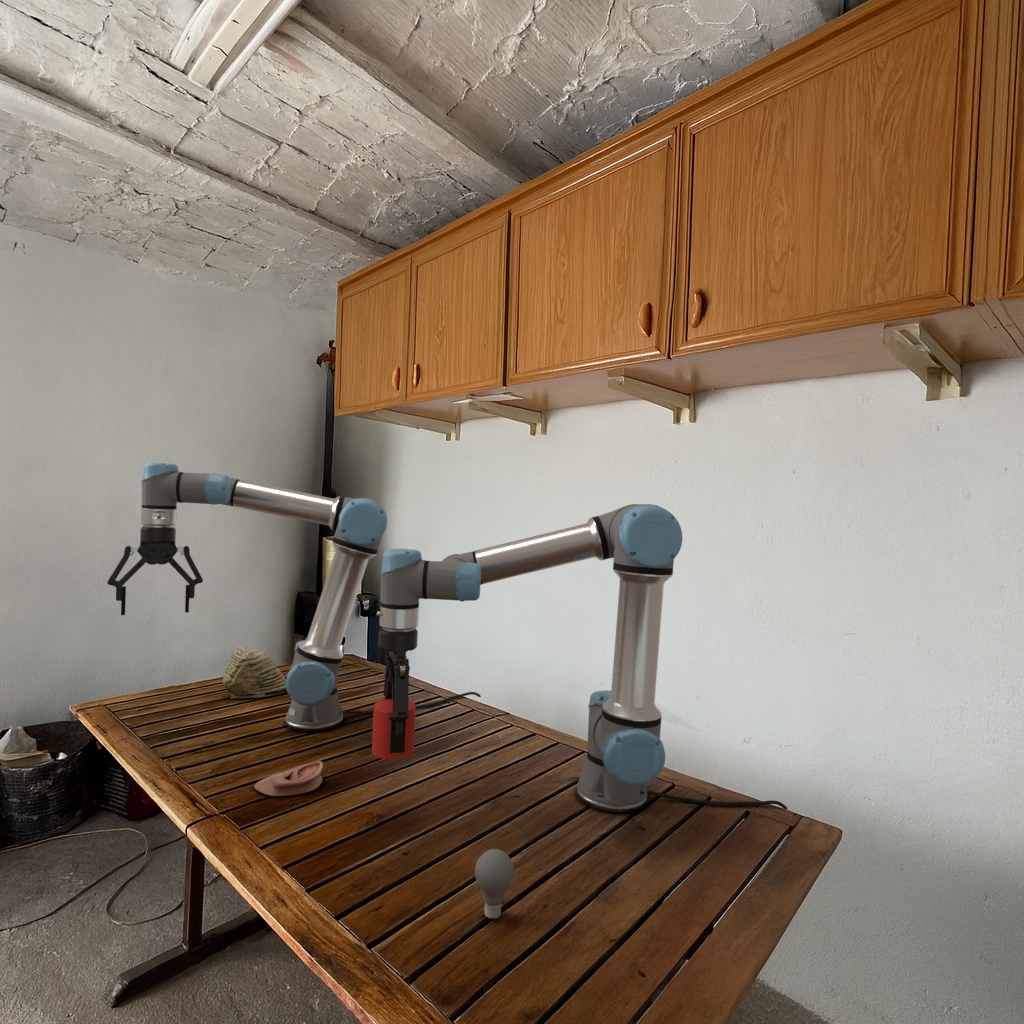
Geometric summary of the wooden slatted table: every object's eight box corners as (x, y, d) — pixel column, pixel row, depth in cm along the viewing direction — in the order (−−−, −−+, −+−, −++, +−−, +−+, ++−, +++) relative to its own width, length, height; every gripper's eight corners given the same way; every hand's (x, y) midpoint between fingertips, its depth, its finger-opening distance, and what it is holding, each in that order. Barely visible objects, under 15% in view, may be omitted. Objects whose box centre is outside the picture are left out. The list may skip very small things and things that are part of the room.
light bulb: (472, 903, 100) (475, 841, 100) (510, 903, 101) (513, 841, 101) (473, 929, 94) (476, 863, 94) (513, 928, 95) (516, 862, 95)
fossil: (218, 695, 195) (220, 647, 195) (278, 685, 208) (279, 640, 207) (228, 703, 189) (230, 653, 188) (289, 692, 201) (290, 645, 201)
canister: (362, 753, 123) (364, 706, 123) (390, 740, 130) (392, 696, 130) (395, 763, 119) (397, 715, 119) (422, 749, 126) (424, 704, 126)
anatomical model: (246, 773, 134) (276, 753, 145) (245, 792, 134) (276, 770, 145) (303, 782, 131) (330, 760, 142) (302, 801, 131) (329, 777, 142)
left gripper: (96, 526, 145) (93, 618, 145) (216, 528, 157) (213, 613, 158) (98, 524, 152) (96, 612, 152) (213, 526, 164) (210, 607, 164)
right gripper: (372, 618, 133) (368, 725, 133) (386, 640, 113) (381, 767, 113) (408, 617, 135) (404, 723, 135) (428, 639, 115) (422, 763, 116)
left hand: (155, 613), depth 155 cm, fingers open, 13 cm apart
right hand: (393, 743), depth 124 cm, fingers closed on canister, 8 cm apart
